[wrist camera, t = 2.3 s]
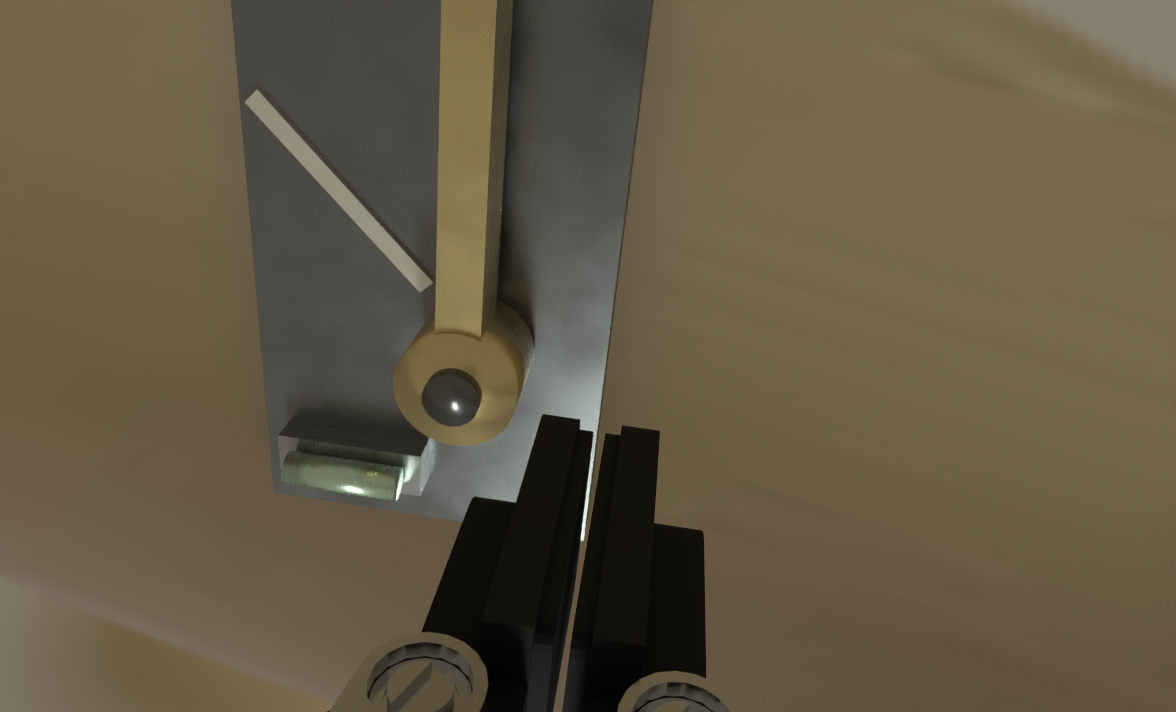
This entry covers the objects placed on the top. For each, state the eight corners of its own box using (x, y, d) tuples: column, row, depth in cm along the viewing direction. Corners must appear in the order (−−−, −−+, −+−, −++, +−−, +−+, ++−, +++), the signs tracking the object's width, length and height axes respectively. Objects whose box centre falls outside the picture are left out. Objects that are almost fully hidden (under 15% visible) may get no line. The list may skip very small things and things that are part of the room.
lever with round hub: (563, -7, 27) (541, 6, 23) (530, 402, 34) (508, 463, 31) (427, -23, 27) (383, -13, 24) (422, 386, 35) (388, 445, 31)
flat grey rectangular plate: (657, -34, 28) (651, -26, 25) (587, 519, 39) (575, 581, 35) (245, -83, 29) (180, -82, 25) (288, 472, 40) (247, 529, 36)
